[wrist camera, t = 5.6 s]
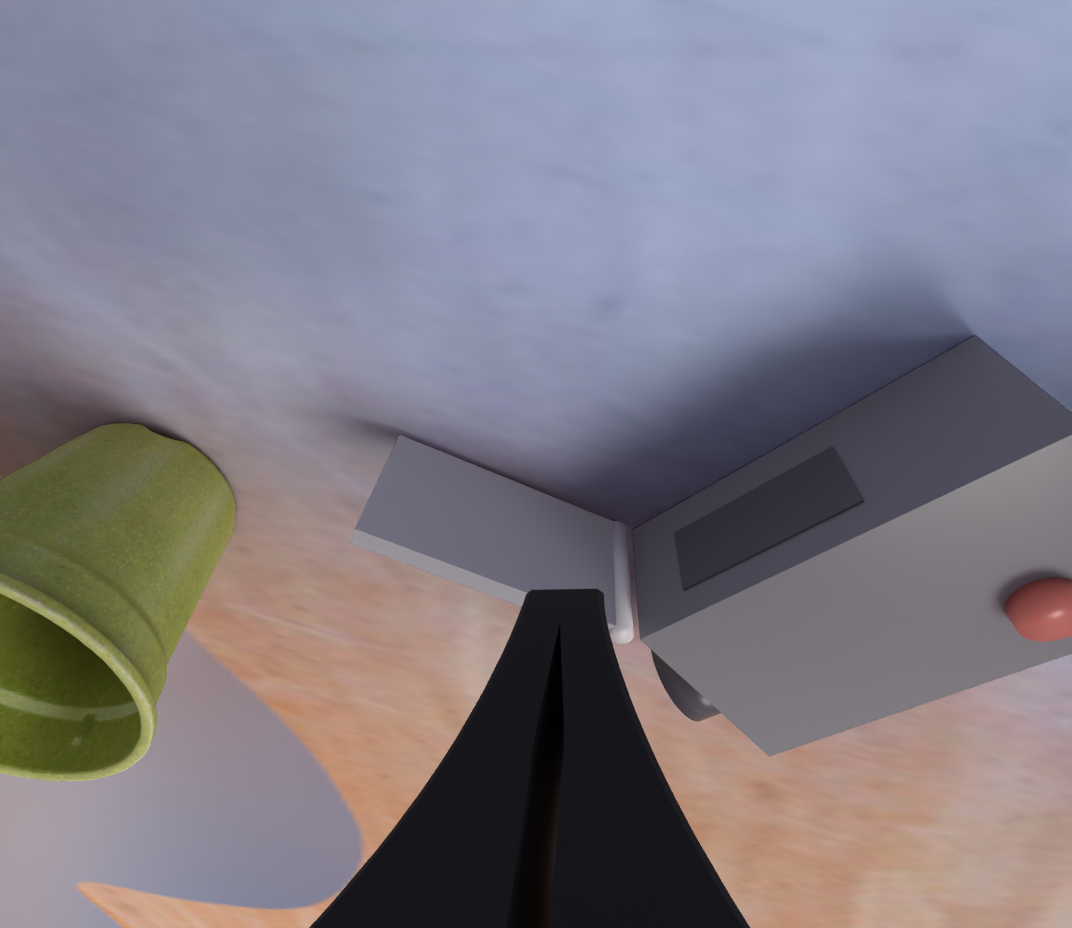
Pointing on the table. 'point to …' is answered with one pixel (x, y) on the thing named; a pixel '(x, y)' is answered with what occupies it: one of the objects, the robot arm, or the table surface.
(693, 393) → the table surface
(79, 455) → the plant pot
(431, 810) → the robot arm
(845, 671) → the camera body
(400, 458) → the side door
